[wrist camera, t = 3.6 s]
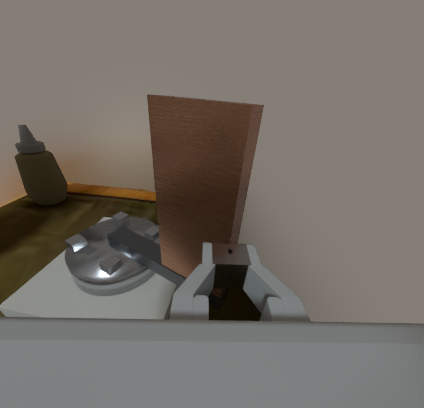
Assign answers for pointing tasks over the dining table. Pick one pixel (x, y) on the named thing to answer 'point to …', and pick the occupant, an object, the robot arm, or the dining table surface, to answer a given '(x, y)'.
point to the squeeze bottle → (39, 170)
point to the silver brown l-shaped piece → (176, 199)
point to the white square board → (87, 297)
